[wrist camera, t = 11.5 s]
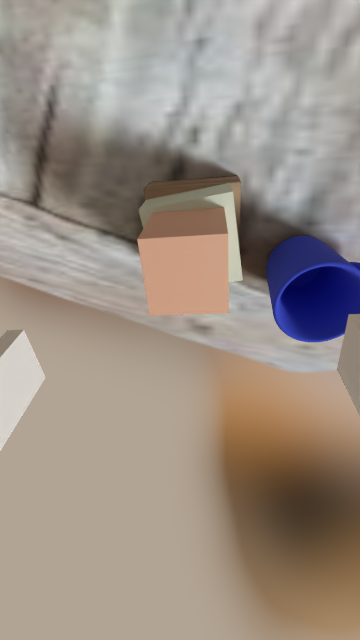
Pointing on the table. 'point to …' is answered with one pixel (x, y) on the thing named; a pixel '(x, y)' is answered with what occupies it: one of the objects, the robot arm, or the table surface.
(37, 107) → the table surface
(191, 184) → the riser lower
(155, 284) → the clay block
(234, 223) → the block
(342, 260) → the mug
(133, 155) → the table surface
